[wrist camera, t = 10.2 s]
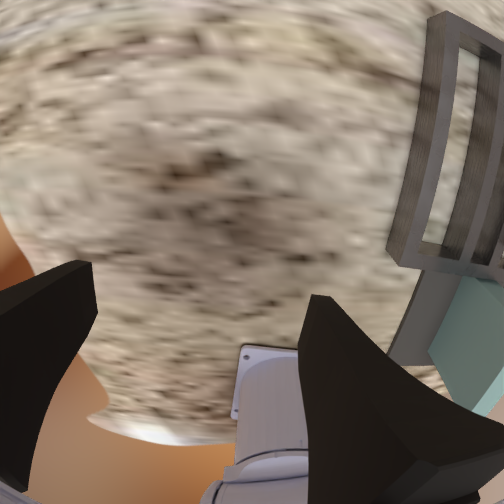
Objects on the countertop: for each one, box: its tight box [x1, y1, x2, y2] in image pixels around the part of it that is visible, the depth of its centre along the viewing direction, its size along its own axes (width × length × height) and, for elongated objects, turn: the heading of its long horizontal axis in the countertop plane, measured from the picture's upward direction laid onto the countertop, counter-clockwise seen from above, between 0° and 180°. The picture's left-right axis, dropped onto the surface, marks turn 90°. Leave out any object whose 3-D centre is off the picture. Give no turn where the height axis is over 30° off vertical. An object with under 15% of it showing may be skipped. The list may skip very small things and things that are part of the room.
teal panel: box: [428, 276, 504, 417], centre depth 18 cm, size 8×2×8 cm, turn 172°
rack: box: [386, 10, 504, 282], centre depth 16 cm, size 16×13×2 cm
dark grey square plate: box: [387, 270, 504, 366], centre depth 22 cm, size 10×10×1 cm
